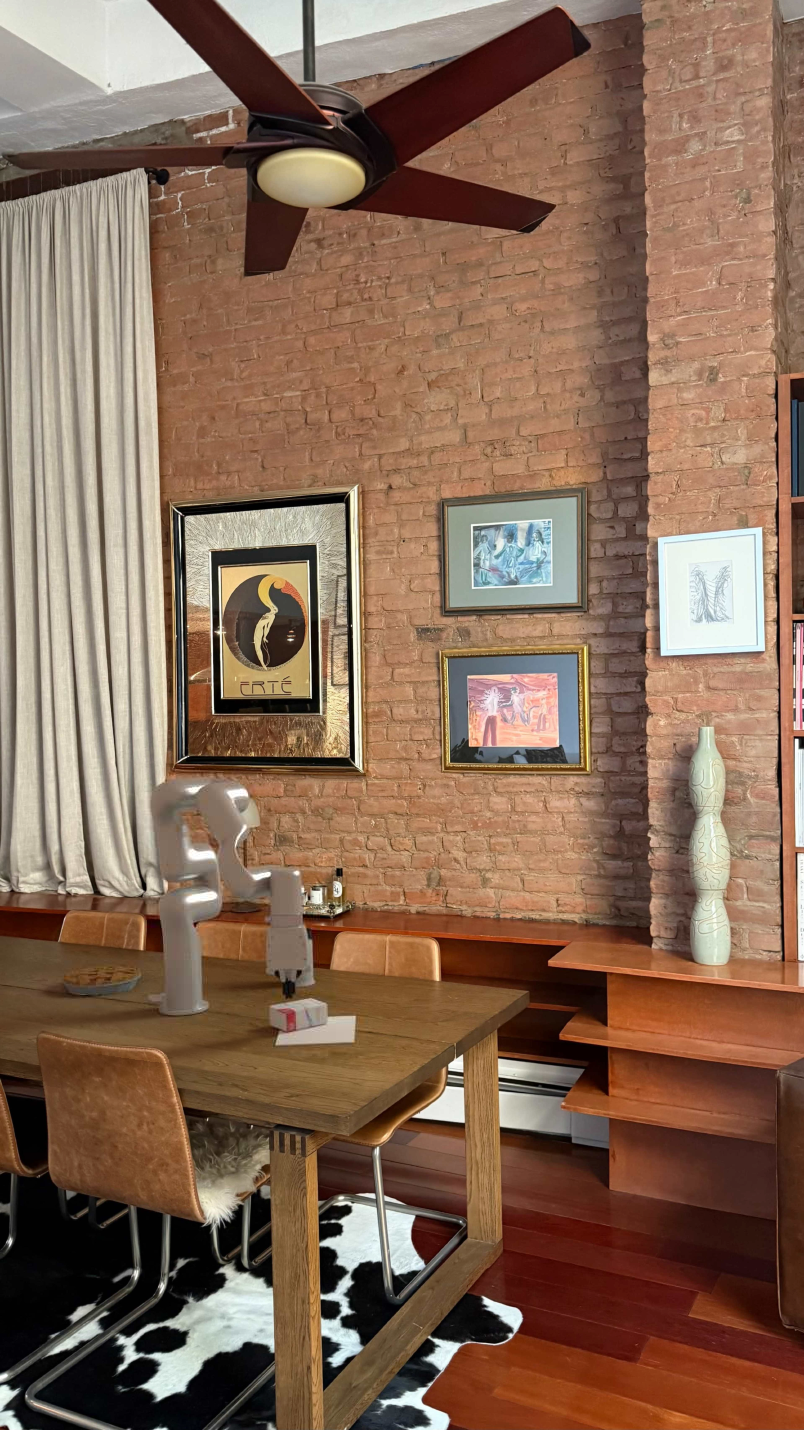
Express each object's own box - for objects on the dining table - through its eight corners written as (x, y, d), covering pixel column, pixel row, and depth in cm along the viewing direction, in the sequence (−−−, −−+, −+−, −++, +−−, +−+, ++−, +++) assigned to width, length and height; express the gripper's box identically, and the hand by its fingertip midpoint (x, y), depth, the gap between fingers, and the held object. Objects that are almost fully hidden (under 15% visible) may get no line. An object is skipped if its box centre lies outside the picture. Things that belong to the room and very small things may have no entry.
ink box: (285, 1033, 258) (328, 1025, 265) (285, 1011, 258) (328, 1004, 265) (268, 1025, 266) (310, 1017, 272) (268, 1004, 266) (310, 997, 272)
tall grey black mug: (302, 988, 303) (301, 934, 303) (262, 983, 311) (261, 930, 311) (321, 981, 311) (319, 928, 311) (281, 976, 318) (280, 925, 318)
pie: (138, 976, 325) (138, 959, 325) (145, 993, 304) (144, 975, 304) (61, 983, 318) (61, 966, 318) (62, 1001, 297) (62, 983, 297)
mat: (275, 1046, 250) (275, 1044, 250) (283, 1019, 272) (283, 1018, 272) (354, 1043, 250) (354, 1041, 250) (355, 1017, 272) (355, 1015, 272)
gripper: (253, 924, 257) (256, 1003, 257) (317, 922, 257) (319, 1000, 257) (257, 919, 264) (259, 995, 264) (319, 916, 265) (321, 992, 265)
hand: (289, 997), depth 261 cm, fingers closed
